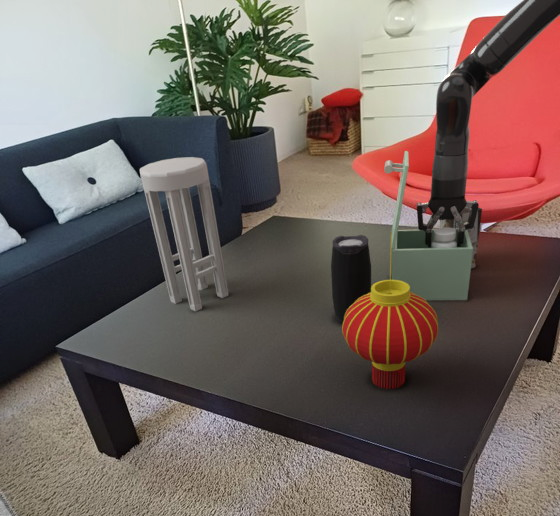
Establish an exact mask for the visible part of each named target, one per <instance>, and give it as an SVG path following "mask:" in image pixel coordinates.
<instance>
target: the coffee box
mask: <svg viewBox="0 0 560 516" xmlns="http://www.w3.org/2000/svg"><path fill="white" fill-rule="evenodd" d="M482 211H483V208H482V207H478V211H477V215H476V219H475V223H474V227H473V228H472V229H467V230H468V233H469V237H470V240H471V244H472V247H473V254H472V262H471V269H474V268H476V265H477V256H478V247H479V239H480V229H481V222H482V213H483V212H482ZM469 213H470V211H469V210H468V207H467V206H466V207H465V208H464V209H463V210H462V211H461V213H460V216H461V218H462V221H463V223H466V222H468V218H469ZM443 227H448V228H459V227H458V224H457V223H456V220H455V219H453V220H448V219H445V220H439V227H438V228H443Z"/></svg>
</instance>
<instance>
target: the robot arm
mask: <svg viewBox="0 0 560 516" xmlns="http://www.w3.org/2000/svg"><path fill="white" fill-rule="evenodd" d="M559 17H560V0H522V1H521V2H519V3H518V4H517V5H516V6H514V7H513V8H512V9H511V10H510V11H508V13H507V14H505V15H504V16H503V17H502V18H501V19H500V20H499V21H498V22H497V23H496V24H495V25H494V26H493V27H492V28H491V29H490V30H489V32H487V34H486V35H485V36H483V38H482V39H481V40H480V41H479V42H478V44H477V45H476V46H475V48H473V50H471V53H469V54H468V55H467V56H466V57H465V58H463V60H462V61H460V63H459V64H458V65H456V67H454V68H453V70H451V71H450V72H449V73H448V74H447V75H446V76H445V77H444V79H443V80H442V81H441V82H440V84H439V86H438V88H437V92H436V99H435V101H436V103H435V112H436V113H435V114H436V116H435V117H436V119H435V120H436V133H435V139H434V140H435V142H434V155H433V161H432V168H431V187H430V198H429V200H428V202H423V203H422V202H419V201H418V202H416V217H417V229H419V230H423V231H425V244H426V245H428V247H431V238H432V229H434V227H435V226H436V224H437V223H438V221H440V220H445V219H448V220H453V219H455V220H456V223H457V224H458V227H459V229H458V233H457V247H460V245H461V244H463V242H464V234H465V231H466V230H467V229H472V228H473V227H474V223H475V219H476V215H477V211H478V208H480V207H479V201H478V200H477V199H474V200H467V199H466V190H467V180H468V170H469V169H468V168H469V146H470V135H471V133H470V132H471V130H470V126H469V125H470V118H471V110H472V101H473V98H474V97H475V96H476V95H477V93H479V91H480V90H481V89H483V87H485V85H486V84H487V83H488V82H489V81H491V79H492V78H494V77H495V76H497V75H498V74H500V73H501V72H502V71H503V70H504V69H505V68H506V67H508V65H509V64H511V63H512V62H513V60H515V59H516V58H517V57H518V55H520V54H521V52H523V51H524V50H525V49H526V48H527V47H528V46H529V45H530V44H531V43H532V42H533V41H534V40H536V38H537V37H538V36H539V35H540V34H541V33H542V32H543V31H544V30H545V29H547V28H548V27H549V26H550V25H552V23H553V22H554V21H555V20H557V18H559ZM466 206H467V207H468V210H469V211H470V213H469V218H468V222H466V223H463V221H462V218H461V216H460V213H461V211H462V210H463V209H464V208H465V207H466ZM427 209H429V210H430V212H431V213H432V214H431V215H430V217H429V220H428V222H427V223H424V216H423V215H424V214H425V213H426V212H427Z"/></svg>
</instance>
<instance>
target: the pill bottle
mask: <svg viewBox="0 0 560 516" xmlns="http://www.w3.org/2000/svg"><path fill="white" fill-rule="evenodd" d="M434 229H435V230H434V234H433V239H434V240H433V241H432V242H431V247H430V248H457V242H456V241H455V240H454V239H455V238H456V230H455V229H453V228H448V227H443V228H439V227H437V228H434Z"/></svg>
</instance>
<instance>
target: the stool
mask: <svg viewBox="0 0 560 516" xmlns="http://www.w3.org/2000/svg"><path fill="white" fill-rule="evenodd" d="M139 174H140V179H141V183H142V188H143V192H144V196H145V198H146V204H147V208H148V211H149V216H150V221H151V225H152V230H153V234H154V238H155V241H156V245H157V250H158V253H159V259H160V262H161V267H162V271H163V275H164V279H165V283H166V287H167V292H168V296H169V300H170V302H171V303H172V304H175V305H177V304H179V303H181V302H183V298H182V294H181V290H180V286H179V285H180V284H179V280H178V276H177V272H180V271H181V272H182V277H183V281H184V287H185V291H186V296H187V301H188V304H189V309H190V310H191V311H194V312H198V311H200V310H202V309H203V305H202V300H201V295H200V291H204V290H206V289H208V288H209V286H208V280H207V279H208V278H207V276H208V275H210V274H212V277H213V281H214V286H215V293H216V295H217V297H219V298H221V299H224V298H226V297H228V296H229V295H230V294H229V289H228V288H229V287H228V283H227V277H226V276H227V275H226V271H225V265H224V260H223V259H224V258H223V253H222V248H221V242H220V235H219V230H218V229H219V228H218V224H217V217H216V213H215V206H214V200H213V195H212V194H213V193H212V189H211V182H210V175H209V169H208V164H207V162H206V160H205V159H204V158H202V157H195V156H188V157H174V158H167V159H161V160H158V161H154V162H150V163H148V164H146V165H144V166H142V167H140V168H139ZM195 186H196V187H197V193H198V198H199V204H200V209H201V215H202V221H203V226H204V231H205V237H206V243H207V247H208V248H207V250H208V254H209V255H207V256H204V257H203V254H202V249H201V243H200V238H199V234H198V233H199V232H198V228H197V222H196V218H195V213H194V207H193V202H192V197H191V192H190V188H192V187H195ZM159 192H164V194H165V200H166V203H167V208H168V213H169V218H170V221H171V227H172V231H173V235H174V240H175V244H176V249H177V253H175V254H173V253H172V250H171V244H170V241H169V236H168V231H167V228H166V223H165V219H164V213H163V210H162V205H161V200H160V195H159ZM177 260H179V264H178V265H175V264H174V262H175V261H177ZM209 262H210V265H211V266H209V267H207V268H205V264H207V263H209Z"/></svg>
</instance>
